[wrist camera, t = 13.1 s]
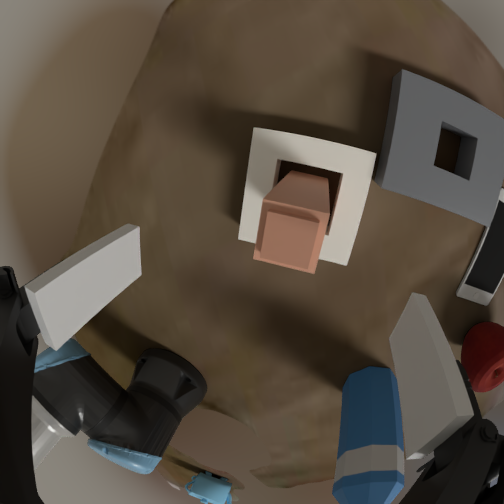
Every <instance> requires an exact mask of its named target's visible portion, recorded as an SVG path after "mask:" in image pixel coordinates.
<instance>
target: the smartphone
mask: <svg viewBox="0 0 504 504" xmlns="http://www.w3.org/2000/svg"><path fill="white" fill-rule="evenodd" d="M503 276H504V189H503V188H501V191H500V195H499V198H498V202H497V206H496V209H495V212H494V216H493V219H492V222H491V225H490V228H489V227H487V226H486V228H485V231H484V233H483V236H482V238H481V241H480V243H479V245H478V248H477V250H476V252H475V255H474V257H473V259H472V261H471V263H470V265H469V267H468V270H467V272H466V274H465V276H464V278H463V280H462V282H461V283H460V285H459V287H458V289H457V291H456V295H457V296H458V297H461V298H464V299H467V300H470V301H473V302H476V303H479V304H482V305H485V306H487V305H488V304H489V302H490V301H491V299H492V297H493V295H494V294H495V292H496V290H497V288H498V286H499V284H500V282H501V280H502V278H503Z"/></svg>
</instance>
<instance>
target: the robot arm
mask: <svg viewBox="0 0 504 504" xmlns="http://www.w3.org/2000/svg"><path fill="white" fill-rule="evenodd" d="M141 275H142V274H141V258H140V230H139V226H135V225H131V224H126V225H124V226H123V227H121V228H119V229H117V230H115V231H113V232H111V233H110V234H108V235H106V236H104V237H102V238H101V239H99V240H97V241H95V242H94V243H92V244H90V245H88V246H87V247H85V248H83V249H82V250H80V251H78V252H77V253H75V254H73V255H72V256H70V257H68V258H67V259H65V260H63V261H62V262H59V263H57V264H56V265H54V266H53V267H51V268H50V269H48V270H46V271H45V272H44V273H42V274H40V275H39V276H37V277H36V278H34V279H33V280H31V281H30V282H28V283H27V284H25V285H24V286H22V287H21V288H19V287H18V284H17V281H16V277H15V274H14V270H13V268H12V267H10V266H3V267H0V504H44V503H43V501H42V500H41V498H40V497H39V495H38V492H37V488H36V482H35V474H34V471H35V469H36V468H37V467H38V466H39V464H40V463H41V462H42V461H43V459H44V458H45V457H46V456H47V454H48V453H49V452H50V451H51V450H52V448H53V447H54V446H55V444H56V443H57V442H58V441H59V440H60V438H61V437H75V436H76V434H77V433H78V432H79V431H80V430H81V431H83V432H84V433H85V434H86V435H88V436H89V437H90V439H88V446H89V447H90V448H92V449H93V450H94V451H96V452H97V453H98V454H100V455H102V456H103V457H105V458H107V459H109V460H111V461H112V462H114V463H116V464H119V465H120V466H122V467H125V468H127V469H129V470H132V471H134V472H137V473H141V474H148V473H151V472H152V471H153V470H154V468H155V467H156V465H157V464H158V462H159V461H160V460H161V459H162V458H161V457H162V456H163V454H164V452H165V450H166V448H167V446H168V444H169V443H170V441H171V439H172V437H173V435H174V433H175V431H176V430H177V428H178V426H179V424H180V422H181V420H182V418H183V417H184V416H186V415H187V414H188V413H189V412H190V411H191V410H193V409H194V408H195V407H196V406H197V405H198V404H199V403H200V402H201V401H202V400H203V398H204V396H205V394H206V392H207V384H206V382H205V380H204V378H203V376H202V375H201V374H200V373H199V371H198V370H197V369H196V368H195V367H193V366H192V365H191V364H190V363H189V362H187V361H186V360H184V359H183V358H181V357H179V356H177V355H176V354H173V353H171V352H169V351H166V350H162V349H154V348H153V349H148V350H146V351H144V352H143V354H142V355H141V356H140V357H139V359H138V360H137V363H136V366H135V370H134V373H133V377H132V380H131V383H130V385H129V387H128V388H127V389H126V390H125V389H123V388H122V387H121V386H120V385H119V384H118V383H117V382H116V381H115V380H114V379H113V378H112V377H111V376H110V375H109V374H108V373H107V372H106V371H105V370H104V369H103V368H102V367H101V366H100V365H99V364H98V363H97V362H96V361H95V360H94V359H93V358H92V357H91V354H90V353H88V352H87V351H86V350H85V349H84V348H83V347H82V346H81V345H80V344H79V343H78V342H77V341H76V340H74V339H72V338H71V337H72V336H73V335H74V334H75V333H76V332H77V331H78V330H79V329H80V328H81V327H82V326H84V325H85V324H86V323H87V322H88V321H89V320H90V319H91V318H92V317H93V316H95V315H96V314H97V313H98V312H99V311H100V310H101V309H102V308H103V307H105V306H106V305H107V304H108V303H109V302H110V301H111V300H113V299H114V298H115V297H116V296H117V295H118V294H119V293H121V292H122V291H123V290H124V289H125V288H126V287H128V286H129V285H130V284H131V283H132V282H133V281H135V280H136V279H137V278H138V277H139V276H141ZM40 332H41V334H42V337H43V339H44V341H45V343H46V344H47V345H49V346H50V347H49V348H47V349H46V350H44V351H43V352H42V353H40V354H39V355H38V356H37V349H38V338H37V335H38V334H39V333H40ZM389 342H390V346H391V351H392V356H393V361H394V366H395V372H396V377H397V383H398V389H399V395H400V402H401V410H402V418H403V426H404V437H405V449H406V459H420V458H424V457H425V456H427V455H428V454H430V453H431V452H432V451H434V456H435V457H434V458H433V459H432V460H430V461H429V462H427V463H426V464H424V465H423V466H421V467H420V468H419V469H418V470H417V472H420V471H421V470H423V469H424V468H425V469H424V471H423V472H422V474H421V475H420V477H419V478H418V479H417V481H416V482H415V484H414V485H413V486H412V487H411V489H410V491H409V492H408V493H407V494H406V495H405V497H404V498H403V499H402V500H401V502H400V503H399V504H504V436H503V435H499V434H498V430H497V428H496V426H495V425H494V424H493V423H492V422H491V421H490V420H488V419H482V416H481V413H480V409H479V406H478V403H477V400H476V397H475V394H474V391H473V390H472V386H471V383H470V382H469V377H468V375H467V372H466V370H465V368H464V367H463V366H462V364H461V363H460V362H459V360H455V358H454V355H453V353H452V350H451V348H450V346H449V343H448V341H447V339H446V337H445V334H444V332H443V330H442V328H441V326H440V323H439V321H438V319H437V317H436V315H435V313H434V311H433V309H432V307H431V305H430V303H429V301H428V299H427V297H426V295H421V294H417V293H413V292H412V294H411V296H410V298H409V300H408V302H407V305H406V307H405V309H404V311H403V313H402V315H401V317H400V319H399V321H398V322H397V324H396V326H395V328H394V330H393V332H392V334H391V336H390V337H389ZM497 477H498V482H497V484H496V485H494V486H492V487H490V482H491V481H493V480H494V479H496V478H497Z"/></svg>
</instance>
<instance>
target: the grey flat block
mask: <svg viewBox="0 0 504 504" xmlns="http://www.w3.org/2000/svg"><path fill="white" fill-rule="evenodd" d="M441 128H443V129H445V130H448V131H450V132H452V133H454V134H456V135H458V136H460V137H461V141H460V147H459V152H458V157H457V162H456V166H455V171H454V174H453V173H450V172H448V171H446V170H443V169H441V168H438V167H436V166H434V161H435V157H436V152H437V147H438V141H439V136H440V130H441ZM503 178H504V119H503V118H501V117H500V116H498V115H497V114H495V113H494V112H492V111H490V110H489V109H487V108H485V107H484V106H482V105H480V104H478V103H477V102H475V101H473V100H471V99H469V98H467V97H466V96H464V95H462V94H460V93H458V92H456V91H454V90H452V89H450V88H447V87H445V86H443V85H441V84H439V83H436V82H434V81H432V80H429V79H427V78H425V77H422V76H420V75H417V74H414V73H412V72H409V71H406V70H403V69H402V70H401V71H400V72H398V73H397V74H396V75H395V76H394V77H393V80H392V89H391V96H390V103H389V110H388V116H387V122H386V128H385V133H384V139H383V144H382V149H381V154H380V158H379V163H378V167H377V172H376V176H375V180H374V181H375V182H376V183H377V184H378V185H379V186H380V187H381V188H383V189H386V190H390V191H393V192H396V193H399V194H402V195H406V196H409V197H412V198H415V199H418V200H420V201H423V202H426V203H429V204H432V205H435V206H437V207H440V208H443V209H445V210H448V211H451V212H453V213H456V214H458V215H461V216H463V217H466V218H468V219H471V220H473V221H475V222H478V223H480V224H482V225H485V226H487V227H489V228H490V225H491V222H492V219H493V216H494V212H495V209H496V206H497V202H498V198H499V195H500V191H501V187H502V182H503Z"/></svg>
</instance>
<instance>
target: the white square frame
mask: <svg viewBox="0 0 504 504" xmlns="http://www.w3.org/2000/svg"><path fill="white" fill-rule="evenodd" d="M375 159H376V153H373V152H370V151H366V150H363V149H359V148H355V147H352V146H348V145H344V144H340V143H336V142H331V141H327V140H323V139H318V138H313V137H309V136H304V135H299V134H293V133H288V132H282V131H276V130H270V129H263V128H255V127H254V129H253V136H252V142H251V149H250V156H249V163H248V170H247V178H246V185H245V192H244V199H243V207H242V214H241V222H240V229H239V237H238V239H240V240H244V241H248V242H252V243H256V238H257V232H258V226H259V219H260V213H261V207H262V201H263V198H264V197H265V196H266V195H267V194H268V193H269V192H270V191H271V190H272V189H273V188H274V187H275V186H276V185H277V183H278V177H279V171H280V165H281V160H285V161H290V162H295V163H300V164H305V165H310V166H314V167H318V168H323V169H327V170H331V171H335V172H339V173H341V175H340V180H339V184H338V189H337V193H336V198H335V202H334V206H333V210H332V214H331V218H330V222H329V226H327V228H326V232H325V236H324V240H323V244H322V247H321V251H320V255H319V258H318V259H322V260H326V261H330V262H334V263H338V264H342V265H346V266H347V263H348V260H349V257H350V253H351V250H352V247H353V244H354V240H355V237H356V234H357V230H358V227H359V223H360V220H361V216H362V213H363V209H364V205H365V201H366V197H367V193H368V189H369V185H370V181H371V177H372V173H373V168H374V164H375Z"/></svg>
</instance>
